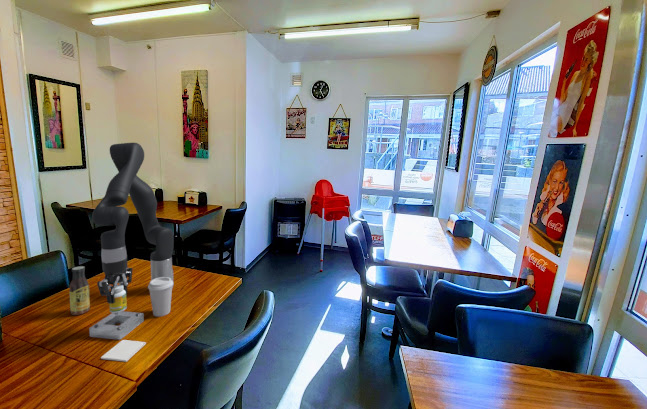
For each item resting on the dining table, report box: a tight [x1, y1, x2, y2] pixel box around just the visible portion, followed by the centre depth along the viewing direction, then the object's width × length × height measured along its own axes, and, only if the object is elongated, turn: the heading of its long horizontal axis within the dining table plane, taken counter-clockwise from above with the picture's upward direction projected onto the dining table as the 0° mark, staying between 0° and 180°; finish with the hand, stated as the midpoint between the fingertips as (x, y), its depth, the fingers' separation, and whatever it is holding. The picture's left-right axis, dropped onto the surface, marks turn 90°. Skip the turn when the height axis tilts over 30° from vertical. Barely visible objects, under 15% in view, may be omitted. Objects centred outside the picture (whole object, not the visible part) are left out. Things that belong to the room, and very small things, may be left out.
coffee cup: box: [147, 277, 174, 318], centre depth 116 cm, size 10×10×15 cm
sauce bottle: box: [68, 265, 91, 316], centre depth 112 cm, size 7×6×20 cm
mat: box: [100, 339, 147, 363], centre depth 93 cm, size 9×9×1 cm
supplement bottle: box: [108, 284, 128, 314], centre depth 103 cm, size 5×5×10 cm
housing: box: [88, 310, 145, 341], centre depth 104 cm, size 12×12×4 cm
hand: (117, 298), depth 103 cm, fingers closed on supplement bottle, 5 cm apart
